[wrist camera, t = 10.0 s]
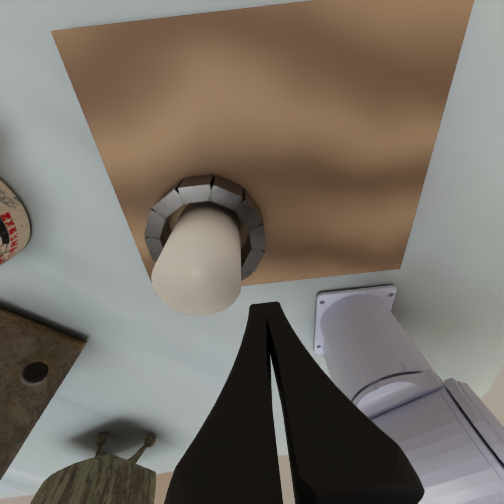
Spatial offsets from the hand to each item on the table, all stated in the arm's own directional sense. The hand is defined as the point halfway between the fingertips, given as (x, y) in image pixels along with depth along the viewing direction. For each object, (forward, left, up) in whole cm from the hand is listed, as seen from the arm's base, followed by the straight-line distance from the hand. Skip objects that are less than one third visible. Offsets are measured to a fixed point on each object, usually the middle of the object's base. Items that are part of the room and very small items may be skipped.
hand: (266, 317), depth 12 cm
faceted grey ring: (+1, +3, -9) cm, 9 cm away
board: (+4, -2, -10) cm, 11 cm away
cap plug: (+1, +3, -9) cm, 9 cm away
